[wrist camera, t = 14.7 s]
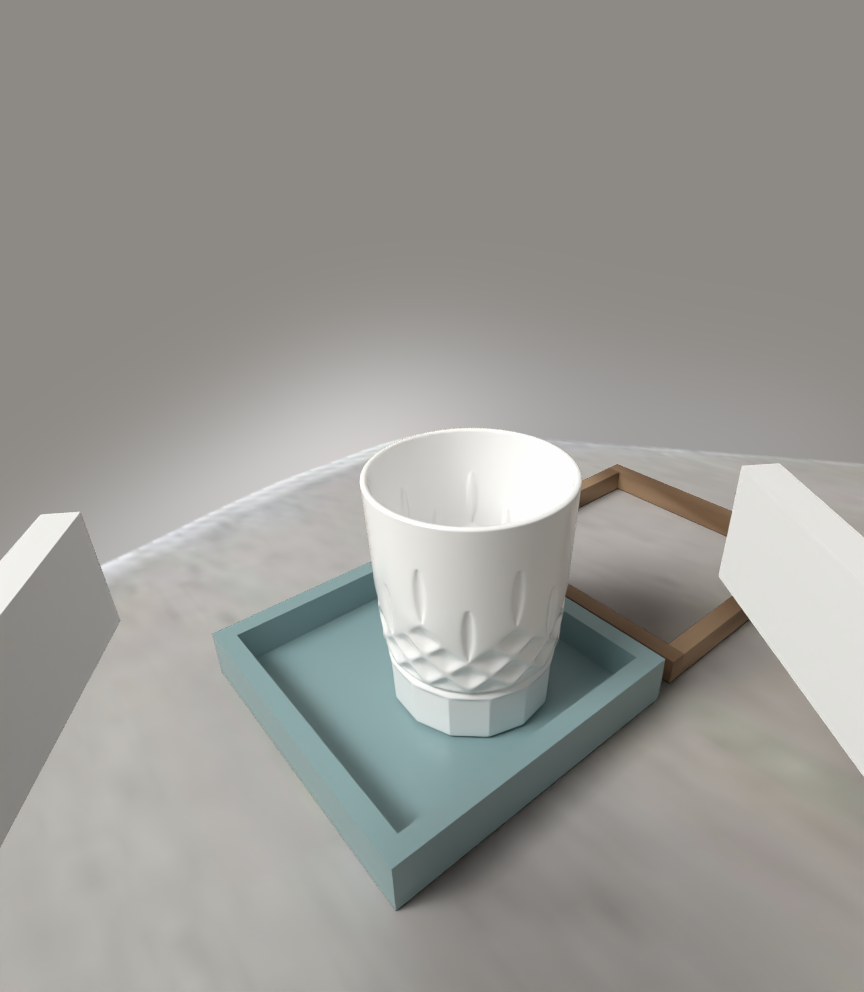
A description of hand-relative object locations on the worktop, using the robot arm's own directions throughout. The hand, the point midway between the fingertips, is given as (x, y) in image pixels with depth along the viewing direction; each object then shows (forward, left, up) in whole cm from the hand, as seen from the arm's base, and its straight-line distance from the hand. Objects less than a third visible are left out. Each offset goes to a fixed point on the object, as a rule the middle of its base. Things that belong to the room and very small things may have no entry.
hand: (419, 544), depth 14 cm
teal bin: (-6, -8, -14) cm, 17 cm away
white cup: (-7, -7, -14) cm, 17 cm away
